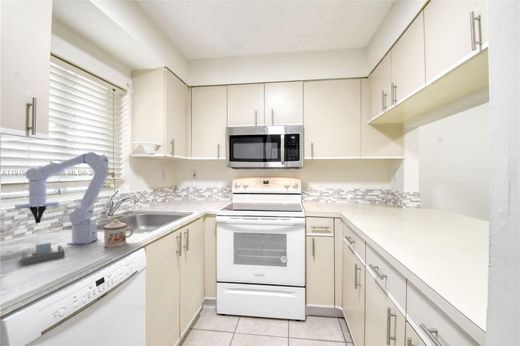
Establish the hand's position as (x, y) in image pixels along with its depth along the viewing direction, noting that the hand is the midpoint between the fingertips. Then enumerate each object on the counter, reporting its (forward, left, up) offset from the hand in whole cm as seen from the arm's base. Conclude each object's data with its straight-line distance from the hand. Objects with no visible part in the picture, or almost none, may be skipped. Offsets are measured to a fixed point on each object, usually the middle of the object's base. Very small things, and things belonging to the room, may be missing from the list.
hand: (37, 222), depth 107 cm
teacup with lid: (-38, +2, -10) cm, 39 cm away
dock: (-17, +18, -10) cm, 26 cm away
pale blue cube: (-16, +17, -8) cm, 25 cm away
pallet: (-16, +17, -10) cm, 26 cm away
